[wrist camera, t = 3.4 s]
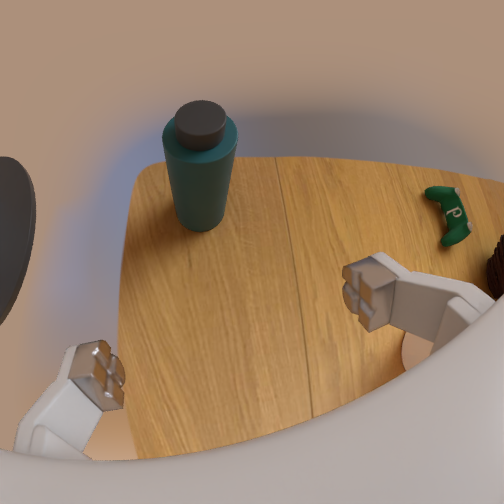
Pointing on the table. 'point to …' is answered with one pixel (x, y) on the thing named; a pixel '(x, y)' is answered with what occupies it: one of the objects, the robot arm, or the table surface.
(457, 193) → the gaming controller
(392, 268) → the robot arm
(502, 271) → the vase
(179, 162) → the bottle
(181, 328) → the table surface
